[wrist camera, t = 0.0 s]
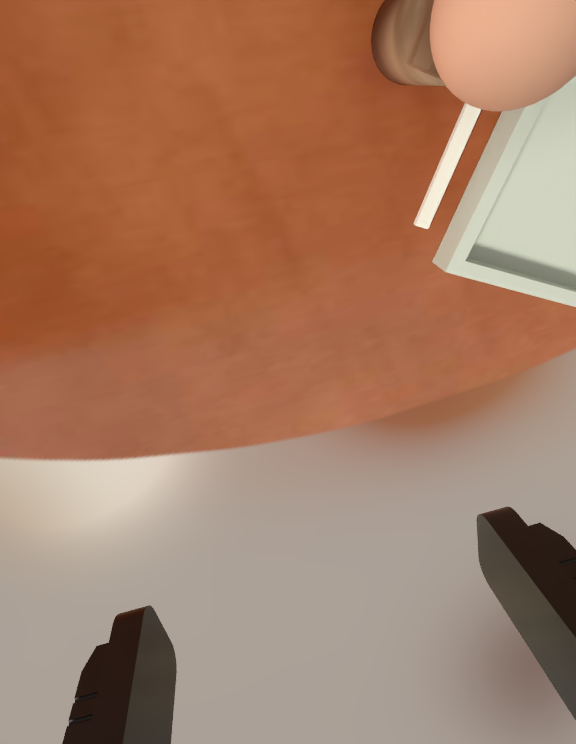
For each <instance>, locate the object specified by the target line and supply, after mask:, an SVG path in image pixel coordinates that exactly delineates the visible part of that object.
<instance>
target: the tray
mask: <svg viewBox="0 0 576 744" xmlns="http://www.w3.org/2000/svg"><path fill="white" fill-rule="evenodd" d="M432 262H433V263H434V264H436V265H437V266H438V267H440V268H441V269H442V270H443V271H445V272H447V273H451V274H455V275H458V276H462V277H466V278H470V279H473V280H477V281H481V282H485V283H488V284H492V285H496V286H499V287H503V288H507V289H511V290H514V291H518V292H522V293H526V294H529V295H533V296H537V297H540V298H544V299H548V300H552V301H555V302H559V303H563V304H567V305H570V306H574V307H576V75H575V76H574V78H572V79H571V80H570V81H569V82H568V83H567V84H565V85H564V86H563V87H562V88H560V89H559V90H558V91H556V92H555V93H553V94H552V95H550V96H548V97H547V98H545V99H543V100H541V101H539V102H537V103H535V104H532V105H529V106H526V107H523V108H520V109H515V110H510V111H502V113H501V115H500V117H499V119H498V121H497V123H496V126H495V128H494V130H493V132H492V134H491V136H490V138H489V141H488V143H487V145H486V147H485V149H484V151H483V154H482V156H481V158H480V160H479V162H478V164H477V167H476V169H475V171H474V173H473V175H472V177H471V179H470V182H469V184H468V186H467V188H466V190H465V192H464V195H463V197H462V199H461V201H460V203H459V205H458V207H457V210H456V212H455V214H454V216H453V218H452V220H451V223H450V225H449V227H448V229H447V231H446V233H445V236H444V238H443V240H442V242H441V244H440V246H439V248H438V251H437V253H436V255H435V257H434V259H433V261H432Z"/></svg>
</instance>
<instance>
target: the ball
mask: <svg viewBox="0 0 576 744" xmlns="http://www.w3.org/2000/svg"><path fill="white" fill-rule="evenodd" d="M430 45H431V52H432V57H433V61H434V64H435V67H436V70H437V72H438V74H439V76H440V78H441V79H442V81H443V82H444V84H445V85H446V87H447V88H448V89H449V90H450V91H451V92H452V93H453V94H454V95H455V96H456V97H457V98H459V99H460V100H462V101H463V102H465V103H467V104H469V105H470V106H473V107H476V108H479V109H483V110H488V111H510V110H515V109H520V108H523V107H526V106H529V105H532V104H535V103H537V102H539V101H541V100H543V99H545V98H547V97H548V96H550V95H552V94H553V93H555V92H556V91H558V90H559V89H560V88H562V87H563V86H564V85H565V84H567V83H568V82H569V81H570V80H571V79H572V78H574V76H575V75H576V0H434V3H433V8H432V13H431V21H430Z"/></svg>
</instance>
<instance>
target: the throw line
mask: <svg viewBox="0 0 576 744" xmlns="http://www.w3.org/2000/svg"><path fill="white" fill-rule="evenodd" d="M480 111H481V109H479V108H476V107H473V106H470V105H469V104H467V103H465V104H464V106H463V108H462V111H461V113H460V115H459V118H458V120H457V122H456V125H455V127H454V129H453V132H452V134H451V137H450V139H449V141H448V144H447V146H446V148H445V151H444V153H443V155H442V158H441V160H440V162H439V165H438V167H437V169H436V172H435V174H434V176H433V179H432V181H431V184H430V186H429V188H428V191H427V193H426V195H425V198H424V200H423V202H422V205H421V207H420V209H419V212H418V214H417V216H416V219H415V221H414V223H413V224H414V225H415V226H419V227H422V228H426V229H429V226H430V224H431V222H432V219H433V217H434V215H435V213H436V210H437V208H438V206H439V204H440V201H441V199H442V197H443V195H444V192H445V190H446V188H447V186H448V183H449V181H450V179H451V177H452V174H453V172H454V170H455V168H456V165H457V163H458V161H459V159H460V156H461V154H462V152H463V150H464V147H465V145H466V143H467V141H468V138H469V136H470V134H471V132H472V129H473V127H474V125H475V123H476V120H477V118H478V116H479V114H480Z"/></svg>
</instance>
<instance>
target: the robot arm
mask: <svg viewBox="0 0 576 744" xmlns="http://www.w3.org/2000/svg"><path fill="white" fill-rule="evenodd" d="M477 532H478V533H477V534H478V553H479V562H480V566H481V569H482V572H483V574H484V577H485V579H486V581H487V583H488V584H489V586H490V588H491V589H492V591H493V592H494V594H495V595H496V597H497V599H498V600H499V602H500V603H501V605H502V606H503V608H504V610H505V611H506V613H507V614H508V616H509V617H510V619H511V620H512V622H513V624H514V625H515V627H516V628H517V630H518V631H519V633H520V634H521V636H522V638H523V639H524V641H525V642H526V644H527V645H528V647H529V648H530V650H531V651H532V653H533V655H534V656H535V658H536V659H537V661H538V662H539V664H540V666H541V667H542V669H543V670H544V671H545V673H546V675H547V676H548V678H549V680H550V681H551V683H552V684H553V686H554V687H555V689H556V690H557V692H558V694H559V695H560V697H561V698H562V700H563V701H564V703H565V704H566V706H567V708H568V709H569V711H570V712H571V714H572V715H573V717H574V718H575V720H576V550H575V549H574V548H573V546H572V545H571V544H570V543H569V542H568V541H567V540H566V539H565V538H564V537H563V536H561V535H560V534H558V533H556V532H555V531H553V530H551V529H550V528H548V527H546V526H544V525H543V524H541V523H538V524H534V525H531V526H527V524H526V523H525V522H524V521H523V520H522V519H521V518H520V516H519V515H518V514H517V513H516V512H515V511H514V510H513V509H512V508H511V507H504V508H501V509H498V510H494V511H490V512H487V513H483V514H479V515H478V516H477ZM175 684H176V658H175V652H174V648H173V645H172V643H171V641H170V639H169V637H168V635H167V633H166V631H165V629H164V628H163V626H162V624H161V622H160V620H159V618H158V616H157V614H156V612H155V611H154V609H153V608H152V607H151V606H146V607H142V608H138V609H135V610H131V611H128V612H124V613H120V614H118V615H117V616H116V617H115V619H114V623H113V626H112V631H111V636H110V640H109V643H106V644H103V645H99V646H97V647H96V648H95V650H94V652H93V653H92V655H91V657H90V658H89V660H88V662H87V663H86V665H85V667H84V669H83V670H82V672H81V676H80V680H79V684H78V687H77V691H76V695H75V703H74V704H73V706H72V710H71V714H70V717H69V726H67V729H66V732H65V736H64V740H63V744H171V734H172V721H173V709H174V696H175Z"/></svg>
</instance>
